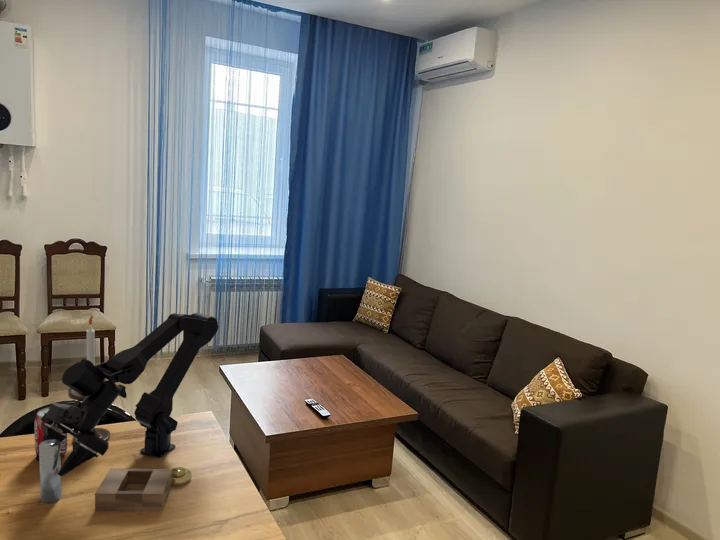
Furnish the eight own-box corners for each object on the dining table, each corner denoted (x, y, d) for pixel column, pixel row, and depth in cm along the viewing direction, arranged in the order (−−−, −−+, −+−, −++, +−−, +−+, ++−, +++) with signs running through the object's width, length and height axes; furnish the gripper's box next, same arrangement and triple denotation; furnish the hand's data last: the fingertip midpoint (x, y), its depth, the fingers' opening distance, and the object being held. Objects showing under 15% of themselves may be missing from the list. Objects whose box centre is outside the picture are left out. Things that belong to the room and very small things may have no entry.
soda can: (53, 465, 134) (52, 420, 132) (28, 460, 136) (26, 415, 133) (73, 451, 141) (73, 408, 139) (49, 447, 142) (48, 403, 140)
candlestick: (121, 440, 149) (120, 315, 142) (79, 453, 140) (77, 321, 134) (103, 425, 156) (102, 306, 149) (62, 437, 147) (59, 311, 141)
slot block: (110, 484, 129) (110, 468, 128) (172, 484, 130) (172, 469, 130) (95, 510, 119) (94, 493, 118) (162, 510, 121) (162, 493, 120)
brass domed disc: (175, 469, 136) (175, 461, 136) (196, 475, 135) (196, 467, 134) (159, 482, 131) (159, 473, 130) (180, 488, 129) (181, 479, 129)
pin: (51, 490, 124) (50, 437, 122) (65, 495, 123) (64, 441, 121) (36, 500, 121) (34, 445, 118) (50, 505, 119) (48, 450, 117)
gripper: (48, 377, 127) (-3, 439, 119) (95, 400, 117) (43, 469, 110) (81, 399, 135) (36, 458, 127) (128, 423, 125) (81, 488, 117)
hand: (48, 467), depth 120 cm, fingers open, 9 cm apart
